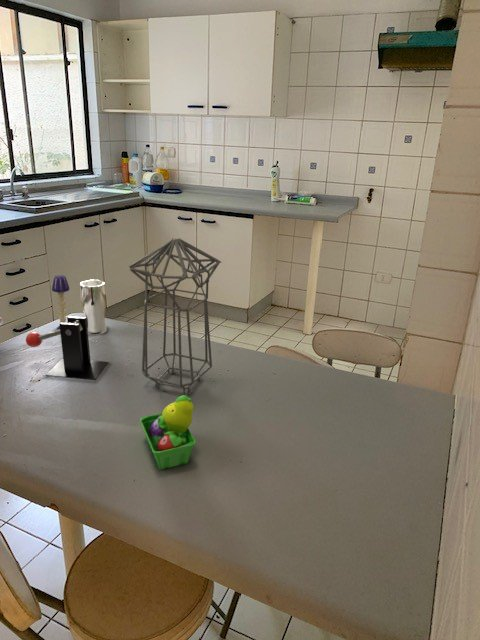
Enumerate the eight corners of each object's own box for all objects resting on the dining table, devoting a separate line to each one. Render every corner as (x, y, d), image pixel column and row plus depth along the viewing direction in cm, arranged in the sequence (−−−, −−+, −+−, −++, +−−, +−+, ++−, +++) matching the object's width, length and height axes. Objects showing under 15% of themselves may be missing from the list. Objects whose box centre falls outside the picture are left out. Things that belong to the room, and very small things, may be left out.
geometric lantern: (192, 410, 100) (192, 251, 86) (130, 393, 105) (121, 241, 92) (221, 378, 113) (226, 236, 100) (165, 364, 118) (162, 228, 105)
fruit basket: (139, 439, 90) (137, 389, 85) (183, 430, 93) (183, 380, 89) (154, 477, 80) (153, 422, 76) (203, 465, 84) (203, 412, 79)
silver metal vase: (78, 334, 133) (73, 284, 128) (94, 325, 139) (90, 278, 134) (98, 338, 131) (94, 288, 125) (113, 330, 137) (110, 281, 131)
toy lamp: (62, 327, 138) (56, 273, 131) (76, 329, 137) (71, 274, 131) (53, 333, 133) (46, 277, 127) (67, 335, 132) (62, 279, 126)
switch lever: (27, 351, 110) (20, 338, 109) (34, 345, 113) (28, 332, 112) (79, 335, 107) (72, 322, 106) (85, 329, 110) (79, 316, 109)
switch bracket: (45, 379, 109) (38, 326, 104) (63, 362, 117) (57, 311, 112) (95, 384, 108) (90, 330, 103) (109, 366, 116) (105, 315, 111)
